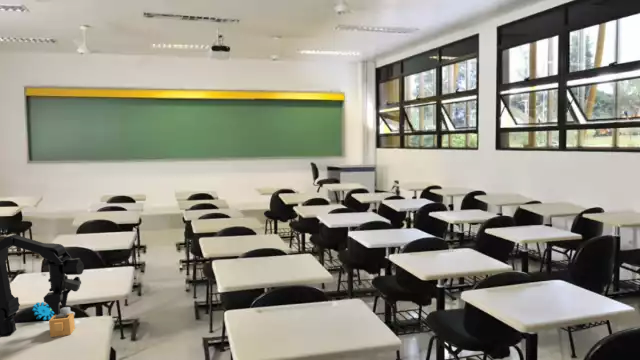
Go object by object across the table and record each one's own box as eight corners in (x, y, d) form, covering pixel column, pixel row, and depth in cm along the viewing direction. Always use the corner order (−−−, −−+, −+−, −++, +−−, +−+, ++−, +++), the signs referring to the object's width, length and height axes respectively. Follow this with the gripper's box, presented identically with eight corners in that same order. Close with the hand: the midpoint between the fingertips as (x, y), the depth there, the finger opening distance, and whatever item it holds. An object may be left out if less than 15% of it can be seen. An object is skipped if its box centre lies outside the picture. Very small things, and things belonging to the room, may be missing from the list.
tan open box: (48, 338, 204) (46, 319, 203) (59, 325, 218) (58, 306, 217) (69, 336, 205) (67, 317, 204) (78, 323, 219) (77, 304, 218)
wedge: (57, 334, 208) (55, 316, 207) (58, 331, 211) (57, 313, 210) (67, 333, 209) (65, 315, 208) (69, 330, 211) (67, 312, 211)
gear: (42, 320, 219) (29, 304, 221) (34, 329, 220) (21, 312, 222) (61, 314, 230) (49, 298, 232) (53, 323, 231) (41, 307, 233)
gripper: (71, 279, 199) (74, 317, 201) (84, 267, 217) (87, 301, 219) (41, 282, 197) (45, 320, 199) (56, 269, 215) (60, 303, 217)
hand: (60, 310), depth 208 cm, fingers open, 9 cm apart
